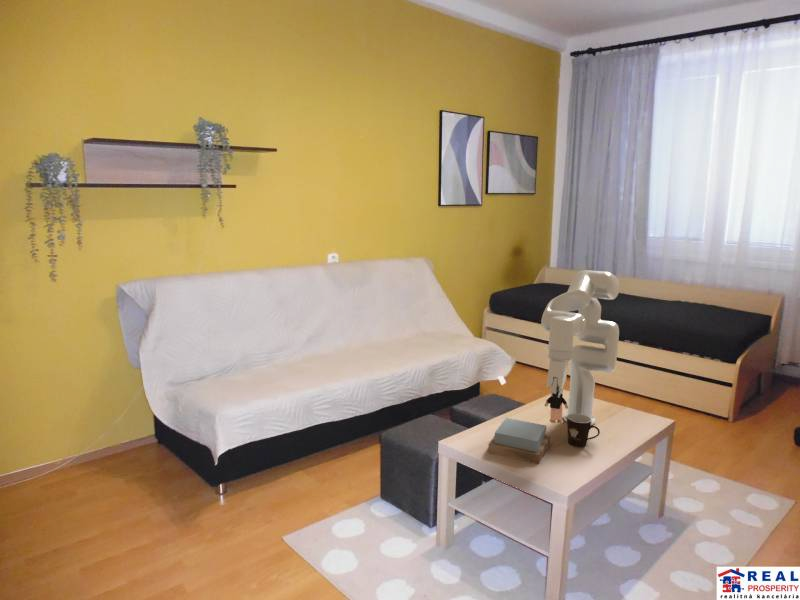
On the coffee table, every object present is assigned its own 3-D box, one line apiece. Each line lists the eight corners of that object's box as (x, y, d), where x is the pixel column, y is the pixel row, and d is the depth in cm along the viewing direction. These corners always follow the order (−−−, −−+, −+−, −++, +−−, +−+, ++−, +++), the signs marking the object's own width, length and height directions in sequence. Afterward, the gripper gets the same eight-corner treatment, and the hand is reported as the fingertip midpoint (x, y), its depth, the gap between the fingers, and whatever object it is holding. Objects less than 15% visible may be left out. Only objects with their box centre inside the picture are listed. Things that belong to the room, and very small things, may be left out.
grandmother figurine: (564, 419, 189) (566, 384, 187) (567, 423, 185) (570, 387, 183) (541, 419, 189) (544, 383, 186) (545, 423, 185) (548, 387, 183)
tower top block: (505, 427, 210) (506, 417, 209) (545, 435, 204) (546, 425, 203) (494, 443, 197) (494, 432, 196) (536, 452, 190) (537, 441, 190)
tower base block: (502, 435, 213) (502, 425, 212) (549, 445, 205) (550, 435, 204) (488, 454, 197) (488, 443, 196) (538, 465, 189) (539, 454, 188)
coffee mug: (560, 440, 208) (562, 415, 206) (579, 437, 211) (581, 412, 209) (580, 453, 197) (582, 427, 195) (599, 450, 200) (602, 424, 198)
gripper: (552, 346, 191) (549, 396, 195) (543, 358, 177) (539, 412, 180) (575, 349, 188) (571, 400, 192) (567, 362, 174) (563, 417, 177)
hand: (555, 405), depth 186 cm, fingers closed on grandmother figurine, 2 cm apart
